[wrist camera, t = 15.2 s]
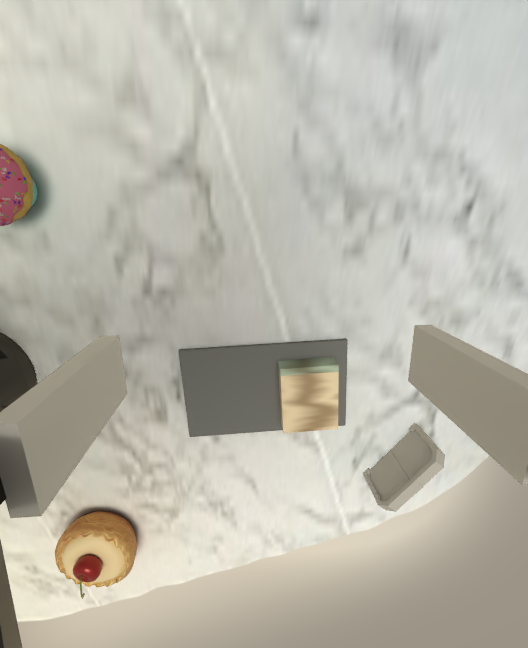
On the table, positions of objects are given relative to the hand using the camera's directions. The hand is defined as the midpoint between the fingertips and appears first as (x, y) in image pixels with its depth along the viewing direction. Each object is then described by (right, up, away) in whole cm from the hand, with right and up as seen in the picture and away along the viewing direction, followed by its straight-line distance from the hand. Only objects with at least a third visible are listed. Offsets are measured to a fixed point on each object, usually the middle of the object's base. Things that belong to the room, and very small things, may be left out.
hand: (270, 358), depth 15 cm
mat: (0, -8, +34) cm, 35 cm away
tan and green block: (+6, -14, +34) cm, 37 cm away
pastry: (-27, -33, +40) cm, 59 cm away
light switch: (+21, -19, +39) cm, 48 cm away
